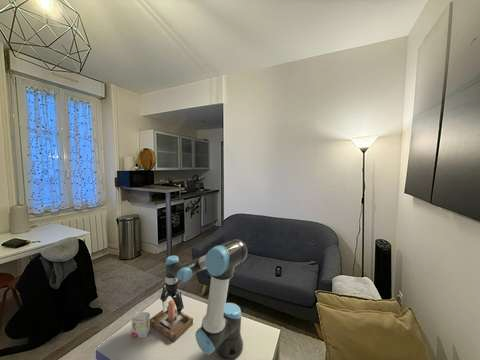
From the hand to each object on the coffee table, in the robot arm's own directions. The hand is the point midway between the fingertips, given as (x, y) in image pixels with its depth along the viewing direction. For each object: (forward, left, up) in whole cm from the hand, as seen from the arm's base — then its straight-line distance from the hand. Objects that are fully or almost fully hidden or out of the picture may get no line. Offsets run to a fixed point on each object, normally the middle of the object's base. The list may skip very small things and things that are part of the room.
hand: (171, 315), depth 123 cm
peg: (0, 0, -6) cm, 6 cm away
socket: (0, 0, -7) cm, 7 cm away
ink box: (+10, +14, -7) cm, 18 cm away
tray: (0, 0, -7) cm, 7 cm away
